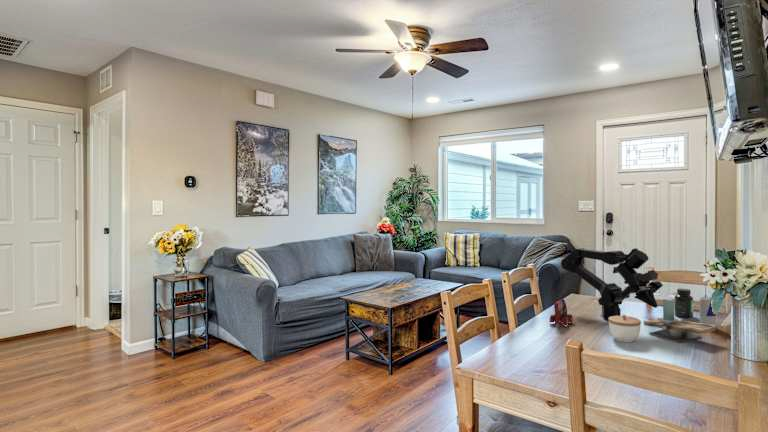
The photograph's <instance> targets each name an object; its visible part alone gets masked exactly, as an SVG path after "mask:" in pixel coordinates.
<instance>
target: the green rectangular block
mask: <svg viewBox="0 0 768 432" xmlns="http://www.w3.org/2000/svg"><path fill="white" fill-rule="evenodd" d="M662 307H663V309H662V310H663V311H662V312H663V313H662V316H663V317H662V318H663V319H660V322H665V323H666V324H668V323H673V322H677V321H678V320H679V318H675V299H670V298H664V299H663V300H662Z"/></svg>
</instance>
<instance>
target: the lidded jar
mask: <svg viewBox="0 0 768 432" xmlns="http://www.w3.org/2000/svg"><path fill="white" fill-rule="evenodd" d="M607 321H608V327H609V332H610V334H611V335H612V336H613V337H614V338H615V340H616V341H619V342H623V343H633V342H634V341H635V340H636V339H637V338H638V337H639V336H640V332H641V323H642V321H641V319H638V318H636V317H633V316H627V315H626V314H622V315H621V316H611V317H609V318H608V320H607Z"/></svg>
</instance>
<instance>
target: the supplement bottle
mask: <svg viewBox="0 0 768 432" xmlns="http://www.w3.org/2000/svg"><path fill="white" fill-rule="evenodd" d="M691 295H692V293H691V289H688V288H677V290H676V295H675V296H674V317H677V318H681V319H693V318H694V297H693V296H691Z"/></svg>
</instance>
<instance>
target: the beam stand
mask: <svg viewBox="0 0 768 432" xmlns="http://www.w3.org/2000/svg"><path fill="white" fill-rule="evenodd" d="M680 321H687V322H689V320H688V319H687V320H686V319H685V318H681V319H680ZM649 334H650V335H651V336H654V337H658V338H661V339H665V340H668V341H671V342H674V343H678V344H681V343H685V342H688V341H693V340H696V339H699V338H700V339H701V338H702V334H697V333H690V332H684V331H677V330H671V329H670V325H669V324H665V323H664V324H663V327H662V328H661V329H660V330H656V331H652V332H650V333H649Z"/></svg>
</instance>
